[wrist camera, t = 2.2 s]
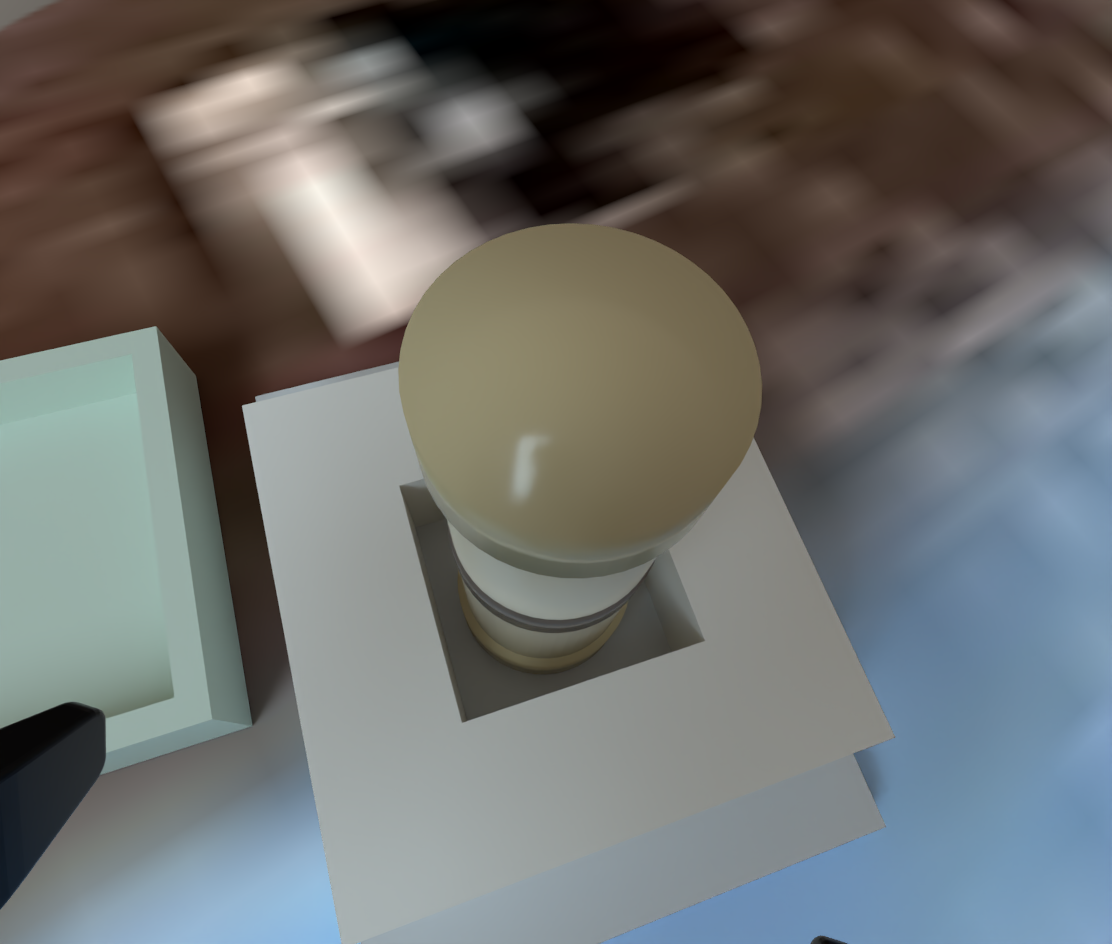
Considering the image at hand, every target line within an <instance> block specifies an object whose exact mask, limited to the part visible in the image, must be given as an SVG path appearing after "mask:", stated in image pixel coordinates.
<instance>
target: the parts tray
mask: <svg viewBox="0 0 1112 944" xmlns="http://www.w3.org/2000/svg"><path fill="white" fill-rule="evenodd" d="M66 702H79V703H82V704H85V705H89V706H92V707H95V708H98V709H100V710H102V711H103V713H104V715H105V718H106V760H105V764H104V767H103V770H102V772H101V774H105V773H108V772H111V771H114V770H117V769H120V768H123V767H126V766H129V765H133V764H136V763H139V762H142V761H145V760H148V759H151V758H154V757H157V756H161V755H164V754H167V753H170V752H173V751H176V750H179V749H182V748H185V747H189V746H192V745H195V744H198V743H201V742H204V741H207V740H210V739H213V738H217V737H220V736H223V735H226V734H229V733H232V732H235V731H238V730H241V729H245V728H248V727H251V726H253V725H252V719H251V713H250V707H249V701H248V695H247V688H246V682H245V676H244V670H243V664H242V657H241V651H240V645H239V639H238V633H237V626H236V620H235V614H234V608H233V602H232V596H231V589H230V583H229V577H228V571H227V565H226V558H225V552H224V546H223V540H222V534H221V527H220V521H219V515H218V509H217V503H216V497H215V490H214V484H213V478H212V472H211V466H210V459H209V453H208V447H207V441H206V435H205V428H204V422H203V416H202V410H201V404H200V398H199V391H198V385H197V379H196V375H195V374H194V373H193V372H192V370H191V369H190V368H189V367H188V365H187V364H186V363H185V362H184V360H183V359H182V358H181V357H180V355H179V354H178V353H177V352H176V350H175V349H174V348H173V347H172V345H171V344H170V343H169V342H168V340H167V339H166V338H165V337H164V335H163V334H162V333H161V332H160V330H159V329H158V328H157V327H156V326H155V327H150V328H146V329H141V330H137V331H132V332H128V333H123V334H119V335H114V336H110V337H105V338H101V339H96V340H92V341H87V342H83V343H78V344H74V345H69V346H65V347H60V348H55V349H51V350H46V351H42V352H37V353H33V354H28V355H24V356H19V357H15V358H10V359H6V360H1V361H0V728H3V727H5V726H8V725H10V724H13V723H15V722H18V721H20V720H23V719H25V718H28V717H30V716H33V715H35V714H38V713H40V712H43V711H45V710H48V709H50V708H53V707H55V706H58V705H60V704H63V703H66ZM101 774H100V775H101Z"/></svg>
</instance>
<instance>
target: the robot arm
mask: <svg viewBox="0 0 1112 944" xmlns="http://www.w3.org/2000/svg"><path fill="white" fill-rule="evenodd" d="M105 760H106V718H105V715H104V713H103V711H102V710H100V709H98V708H95V707H92V706H89V705H85V704H82V703H79V702H66V703H63V704H60V705H58V706H55V707H53V708H50V709H48V710H45V711H43V712H40V713H38V714H35V715H33V716H30V717H28V718H25V719H23V720H20V721H18V722H15V723H13V724H10V725H8V726H5V727H3V728H0V909H1V908H2V907H3V906H4V905H5V903H6V902H7V901H8V900H9V899H10V897H11V896H12V895H13V893H14V892H15V891H16V890H17V888H18V887H19V886H20V884H21V883H22V882H23V880H24V879H25V878H26V876H27V875H28V874H29V872H30V871H31V870H32V868H33V867H34V865H35V864H36V863H37V861H38V860H39V859H40V857H41V856H42V854H43V853H44V852H45V850H46V849H47V848H48V846H49V845H50V843H51V842H52V841H53V839H54V838H55V837H56V835H57V834H58V832H59V831H60V830H61V828H62V827H63V826H64V824H65V823H66V821H67V820H68V819H69V817H70V816H71V815H72V813H73V812H74V810H75V809H76V808H77V806H78V805H79V804H80V802H81V801H82V799H83V798H84V797H85V795H86V794H87V793H88V791H89V790H90V788H91V787H92V786H93V784H94V783H95V782H96V780H97V779H98V777H99V775H100V774H101V772H102V770H103V767H104V764H105ZM811 944H847V943H845V942H842V941H838V940H835V939H832V938H829V937H826V936H818V937H816V938H814V940H813V941H812V942H811Z"/></svg>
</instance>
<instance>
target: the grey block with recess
mask: <svg viewBox="0 0 1112 944" xmlns="http://www.w3.org/2000/svg"><path fill="white" fill-rule="evenodd" d="M398 368H399V362H395V363H391V364H387V365H383V366H379V367H375V368H371V369H367V370H362V371H358V372H354V373H350V374H346V375H342V376H338V377H334V378H330V379H325V380H321V381H317V382H313V383H309V384H305V385H301V386H297V387H293V388H288V389H284V390H280V391H276V392H272V393H268V394H264V395H260V396H256V397H255V399H256V402H255V403H250V404H246V405H242V409H243V414H244V420H245V425H246V431H247V436H248V441H249V447H250V452H251V458H252V463H253V468H254V474H255V479H256V485H257V490H258V495H259V501H260V506H261V511H262V517H263V522H264V528H265V533H266V538H267V544H268V549H269V555H270V560H271V565H272V571H273V576H274V582H275V587H276V592H277V598H278V603H279V609H280V614H281V619H282V625H283V630H284V636H285V641H286V646H287V652H288V657H289V663H290V668H291V673H292V679H293V684H294V690H295V695H296V700H297V706H298V711H299V717H300V722H301V727H302V733H303V738H304V744H305V749H306V754H307V760H308V765H309V771H310V776H311V781H312V787H313V792H314V797H315V803H316V808H317V814H318V819H319V824H320V830H321V835H322V841H323V846H324V851H325V857H326V862H327V868H328V873H329V878H330V884H331V889H332V895H333V900H334V905H335V911H336V916H337V922H338V927H339V932H340V938H341V943H342V944H357V943H359V942H361V944H599V943H601V942H604V941H606V940H609V939H611V938H614V937H616V936H619V935H621V934H624V933H626V932H628V931H631V930H633V929H636V928H638V927H641V926H643V925H646V924H648V923H651V922H653V921H656V920H658V919H660V918H663V917H665V916H668V915H670V914H673V913H675V912H678V911H680V910H683V909H685V908H688V907H690V906H692V905H695V904H697V903H700V902H702V901H705V900H707V899H710V898H712V897H715V896H717V895H720V894H722V893H724V892H727V891H729V890H732V889H734V888H737V887H739V886H742V885H744V884H747V883H749V882H751V881H754V880H756V879H759V878H761V877H764V876H766V875H769V874H771V873H774V872H776V871H779V870H781V869H783V868H786V867H788V866H791V865H793V864H796V863H798V862H801V861H803V860H806V859H808V858H811V857H813V856H815V855H818V854H820V853H823V852H825V851H828V850H830V849H833V848H835V847H838V846H840V845H843V844H845V843H847V842H850V841H852V840H855V839H857V838H860V837H862V836H865V835H867V834H870V833H872V832H874V831H877V830H879V829H882V828H884V827H886V825H885V823H884V821H883V819H882V817H881V814H880V812H879V810H878V808H877V805H876V803H875V801H874V799H873V796H872V794H871V792H870V790H869V788H868V785H867V783H866V781H865V779H864V776H863V774H862V772H861V770H860V767H859V765H858V763H857V761H856V759H855V756H854V754H853V753H856V752H858V751H861V750H864V749H866V748H869V747H872V746H874V745H877V744H879V743H882V742H885V741H887V740H890V739H892V738H895V736H894V734H893V731H892V729H891V727H890V725H889V723H888V721H887V719H886V717H885V715H884V712H883V710H882V708H881V706H880V704H879V702H878V700H877V698H876V695H875V693H874V691H873V689H872V687H871V685H870V683H869V681H868V679H867V676H866V674H865V672H864V670H863V668H862V666H861V664H860V662H859V659H858V657H857V655H856V653H855V651H854V649H853V647H852V645H851V643H850V640H849V638H848V636H847V634H846V632H845V630H844V628H843V626H842V623H841V621H840V619H839V617H838V615H837V613H836V611H835V609H834V607H833V604H832V602H831V600H830V598H829V596H828V594H827V592H826V590H825V587H824V585H823V583H822V581H821V579H820V577H819V575H818V573H817V571H816V568H815V566H814V564H813V562H812V560H811V558H810V556H809V554H808V551H807V549H806V547H805V545H804V543H803V541H802V539H801V537H800V535H799V532H798V530H797V528H796V526H795V524H794V522H793V520H792V518H791V515H790V513H789V511H788V509H787V507H786V505H785V503H784V501H783V499H782V496H781V494H780V492H779V490H778V488H777V486H776V484H775V482H774V479H773V477H772V475H771V473H770V471H769V469H768V467H767V465H766V463H765V460H764V458H763V456H762V454H761V452H760V450H759V448H758V446H757V443H756V441H755V439H754V437H753V440H752V443H751V446H750V447H749V449H748V451H747V453H746V455H745V457H744V459H743V461H742V463H741V464H740V466H739V467H738V468H737V470H736V471H735V472H734V474H733V475H732V476H731V478H730V479H729V481H728V482H727V483H726V485H725V486H724V487H723V488H722V490H721V491H720V492H719V494H718V495H717V496H716V498H715V499H714V500H713V502H712V503H711V504H710V506H709V507H708V508H707V510H706V511H705V512H704V514H703V515H702V516H701V518H700V519H699V520H698V521H697V523H696V524H695V525H694V527H693V528H692V529H691V530H690V531H689V532H688V533H687V534H686V535H685V536H684V537H683V538H682V539H681V540H680V541H679V542H678V543H676V544H675V545H674V546H672V547H671V548H670V549H668V550H667V551H666V552H664V553H663V554H661V555H659V556H658V557H656V559H655V562H654V564H653V566H652V568H651V569H650V571H649V573H648V575H647V576H646V578H645V579H644V581H643V582H642V583H641V585H640V586H639V588H638V589H637V590H636V592H635V593H634V594H633V596H632V597H631V598H630V600H629V601H628V604H627V608H626V610H625V613H624V615H623V618H622V620H621V621H620V623H619V625H618V627H617V628H616V630H615V631H614V632H613V634H612V635H611V636H610V638H609V639H608V640H607V642H606V643H605V644H604V646H603V647H602V648H601V649H600V650H599V651H598V652H597V653H596V654H595V655H594V656H593V657H591V658H590V659H589V660H587V661H586V662H584V663H582V664H581V665H579V666H577V667H575V668H572V669H570V670H567V671H564V672H560V673H555V674H547V675H542V674H529V673H524V672H520V671H517V670H514V669H511V668H509V667H507V666H505V665H503V664H501V663H500V662H498V661H496V660H495V659H494V658H492V657H491V656H490V655H489V654H488V653H486V652H485V651H484V649H483V648H482V647H481V646H480V645H479V644H478V642H477V641H476V640H475V638H474V637H473V635H472V633H471V631H470V629H469V627H468V625H467V622H466V619H465V616H464V613H463V610H462V606H461V603H460V598H459V593H458V582H457V580H458V567H457V565H456V562H455V558H454V555H453V551H452V547H451V543H450V538H449V533H448V523H447V519H446V517H445V516H444V515H443V513H442V512H441V510H440V509H439V508H438V506H437V505H436V503H435V501H434V499H433V498H432V496H431V494H430V492H429V490H428V488H427V486H426V483H425V481H424V478H423V475H422V472H421V469H420V466H419V463H418V460H417V456H416V453H415V450H414V446H413V443H412V440H411V436H410V433H409V430H408V426H407V423H406V420H405V416H404V413H403V408H402V403H401V398H400V393H399V376H398Z"/></svg>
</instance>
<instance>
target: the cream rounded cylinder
mask: <svg viewBox="0 0 1112 944" xmlns="http://www.w3.org/2000/svg"><path fill="white" fill-rule="evenodd" d="M398 376H399V393H400V398H401V403H402V408H403V413H404V416H405V420H406V423H407V426H408V430H409V433H410V436H411V440H412V443H413V446H414V450H415V453H416V456H417V460H418V463H419V466H420V469H421V472H422V475H423V478H424V481H425V483H426V486H427V488H428V490H429V492H430V494H431V496H432V498H433V499H434V501H435V503H436V505H437V506H438V508H439V509H440V510H441V512H442V513H443V515H444V516H445V517H446V519H447V523H448V533H449V538H450V543H451V547H452V551H453V555H454V558H455V562H456V565H457V567H458V580H457V582H458V593H459V598H460V603H461V606H462V610H463V613H464V616H465V619H466V622H467V625H468V627H469V629H470V631H471V633H472V635H473V637H474V638H475V640H476V641H477V642H478V644H479V645H480V646H481V647H482V648H483V649H484V651H485V652H486V653H488V654H489V655H490V656H491V657H492V658H494V659H495V660H496V661H498V662H500V663H501V664H503V665H505V666H507V667H509V668H511V669H514V670H517V671H520V672H524V673H529V674H542V675H547V674H555V673H560V672H564V671H567V670H570V669H572V668H575V667H577V666H579V665H581V664H582V663H584V662H586V661H587V660H589V659H590V658H591V657H593V656H594V655H595V654H596V653H597V652H598V651H599V650H600V649H601V648H602V647H603V646H604V644H605V643H606V642H607V640H608V639H609V638H610V636H611V635H612V634H613V632H614V631H615V630H616V628H617V627H618V625H619V623H620V621H621V620H622V618H623V615H624V613H625V610H626V608H627V604H628V601H629V600H630V598H631V597H632V596H633V594H634V593H635V592H636V590H637V589H638V588H639V586H640V585H641V583H642V582H643V581H644V579H645V578H646V576H647V575H648V573H649V571H650V569H651V568H652V566H653V564H654V562H655V559H656V557H658V556H659V555H661V554H663V553H664V552H666V551H667V550H668V549H670V548H671V547H672V546H674V545H675V544H676V543H678V542H679V541H680V540H681V539H682V538H683V537H684V536H685V535H686V534H687V533H688V532H689V531H690V530H691V529H692V528H693V527H694V525H695V524H696V523H697V521H698V520H699V519H700V518H701V516H702V515H703V514H704V512H705V511H706V510H707V508H708V507H709V506H710V504H711V503H712V502H713V500H714V499H715V498H716V496H717V495H718V494H719V492H720V491H721V490H722V488H723V487H724V486H725V485H726V483H727V482H728V481H729V479H730V478H731V476H732V475H733V474H734V472H735V471H736V470H737V468H738V467H739V466H740V464H741V463H742V461H743V459H744V457H745V455H746V453H747V451H748V449H749V447H750V446H751V443H752V440H753V437H754V434H755V431H756V428H757V426H758V421H759V415H760V410H761V402H762V379H761V371H760V363H759V359H758V356H757V352H756V348H755V344H754V342H753V339H752V337H751V335H750V332H749V330H748V327H747V325H746V323H745V322H744V320H743V318H742V316H741V315H740V313H739V311H738V310H737V308H736V306H735V305H734V304H733V302H732V301H731V300H730V298H729V297H728V296H727V295H726V293H725V292H724V291H723V290H722V289H721V288H720V287H719V285H718V284H717V283H716V282H715V281H714V280H713V279H712V278H711V277H710V276H709V275H708V274H706V273H705V272H704V271H703V270H701V269H700V268H699V267H698V266H696V265H695V264H694V263H693V262H691V261H690V260H688V259H687V258H685V257H684V256H682V255H681V254H679V253H677V252H676V251H674V250H672V249H670V248H668V247H666V246H664V245H662V244H660V243H658V242H656V241H654V240H651V239H649V238H646V237H643V236H641V235H638V234H635V233H632V232H628V231H624V230H620V229H617V228H612V227H606V226H599V225H592V224H572V223H569V224H551V225H544V226H538V227H531V228H526V229H523V230H519V231H516V232H512V233H508V234H506V235H503V236H501V237H498V238H496V239H493V240H491V241H488V242H486V243H484V244H483V245H481V246H479V247H477V248H475V249H473V250H472V251H470V252H468V253H467V254H466V255H464V256H463V257H461V258H460V259H458V260H457V261H456V262H454V263H453V264H452V265H451V266H450V267H449V268H447V269H446V270H445V271H444V272H443V273H442V274H441V275H440V276H439V277H438V278H437V279H436V280H435V281H434V283H433V284H432V285H431V286H430V287H429V289H428V290H427V291H426V292H425V294H424V295H423V297H422V298H421V300H420V302H419V303H418V305H417V307H416V308H415V310H414V312H413V314H412V316H411V319H410V321H409V323H408V326H407V328H406V331H405V334H404V338H403V342H402V346H401V350H400V359H399V368H398Z"/></svg>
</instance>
